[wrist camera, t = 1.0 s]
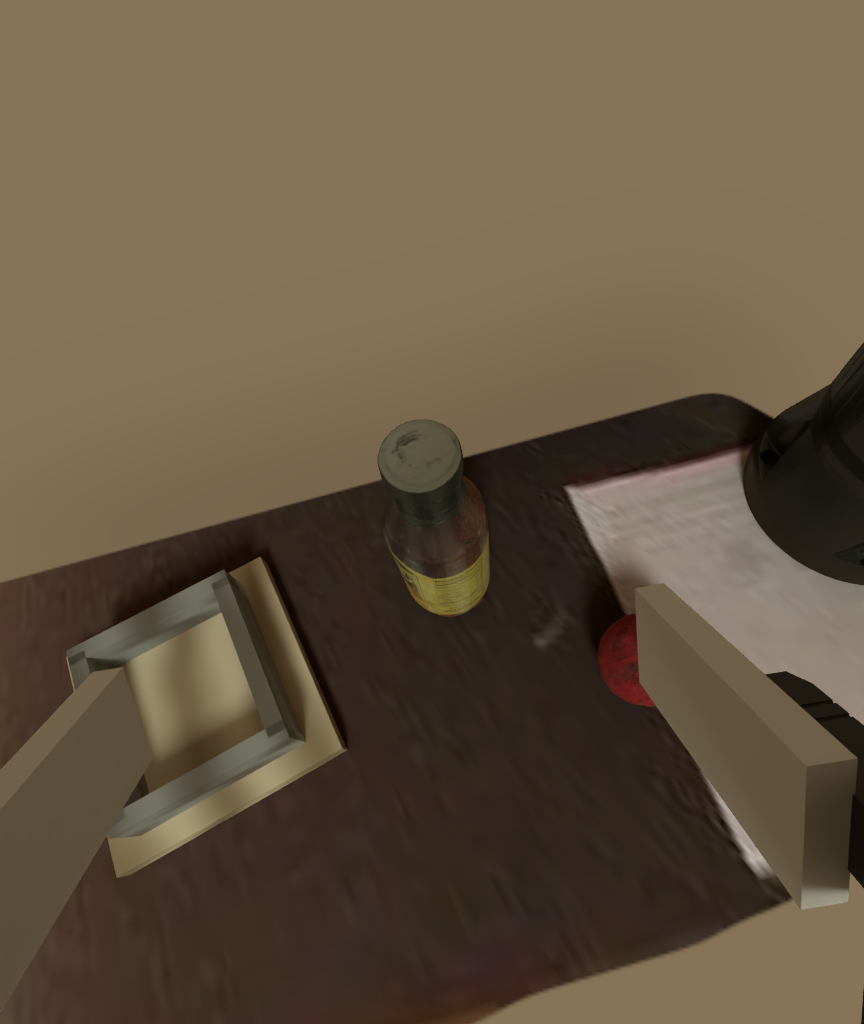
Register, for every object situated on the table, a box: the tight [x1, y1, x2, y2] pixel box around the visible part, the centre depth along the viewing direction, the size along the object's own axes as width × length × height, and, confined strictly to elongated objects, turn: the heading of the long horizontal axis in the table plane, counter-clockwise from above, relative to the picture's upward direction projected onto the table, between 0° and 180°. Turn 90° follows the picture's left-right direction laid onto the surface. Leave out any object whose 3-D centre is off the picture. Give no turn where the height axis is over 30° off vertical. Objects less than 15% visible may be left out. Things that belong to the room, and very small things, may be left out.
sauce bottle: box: [378, 420, 490, 617], centre depth 37 cm, size 6×6×20 cm
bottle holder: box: [66, 557, 347, 877], centre depth 41 cm, size 16×16×5 cm
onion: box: [597, 614, 656, 707], centre depth 38 cm, size 6×6×8 cm
